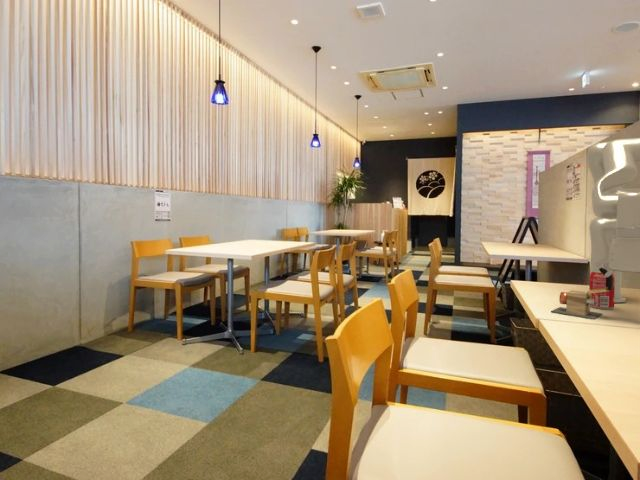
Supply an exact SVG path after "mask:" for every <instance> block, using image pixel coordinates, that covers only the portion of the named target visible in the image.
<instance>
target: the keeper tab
mask: <svg viewBox="0 0 640 480" xmlns="http://www.w3.org/2000/svg"><path fill="white" fill-rule="evenodd" d="M586 291H587V290H586ZM607 291H609V290H608V288H602V289H594V290H590V291H589V290H588V291H587V293H588V294H591V293H599V292H607Z"/></svg>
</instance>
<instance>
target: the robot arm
mask: <svg viewBox="0 0 640 480" xmlns="http://www.w3.org/2000/svg"><path fill="white" fill-rule="evenodd" d="M586 157H587V166H588V168H589V171H590V173H591V176H592V178H593V187H592V190H591V205H592V212H593V214H594V215H595V216H596V217H595V218H594V219H592V220H591V221H590V223H589V228H588V229H589V237H590V249H591V250H590V271H589V272H590V274H591V273H592V272H591V271H594V270H599V271H600V272H601V273H602V274H603V275H605V277H606V287H608V290H612V289H613V277H612V274H614V276H615V296H614V303H616V304H617V303H626V300H627V299H626V297H624V296H622V294H621V293H622V275H623V274H622V273H623V272H624V273H637V274H640V188H623V187H622V186H624V185H626V184H628V183H630V182H632V180H634V179H635V178H636V177H637V175H638V168H637V164H640V137H633V138H632V137H631V138H619V139H614V140H611V141H603V142H599V143H594V144H592V145H590V146H589V148H588V151H587V155H586ZM590 274H589V275H590Z"/></svg>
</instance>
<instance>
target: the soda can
mask: <svg viewBox="0 0 640 480" xmlns="http://www.w3.org/2000/svg"><path fill="white" fill-rule="evenodd" d="M591 272H592V273H591V274H589V283H588V284H589V287H588V289H589V290H588V291H590V290H594V289H602V288H608V287H606V277H605V275H603V274H602V273H601V272H600V271H599V270H594V271H591ZM612 277H613V289H612V290H609V291H607V292H599V293H591V299H594V305H590V308H592V309H598V310H604V311H605V310H606V311H607V310H609V311H610V310H613V309H614V308H615V302H614V296H615V276H614V274H612Z"/></svg>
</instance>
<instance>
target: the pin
mask: <svg viewBox="0 0 640 480" xmlns="http://www.w3.org/2000/svg"><path fill="white" fill-rule="evenodd" d="M567 292H568V291H566V292H564V291H561V292H560V294H559V304H561V305H567ZM587 304H590V305H594V299H587Z"/></svg>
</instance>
